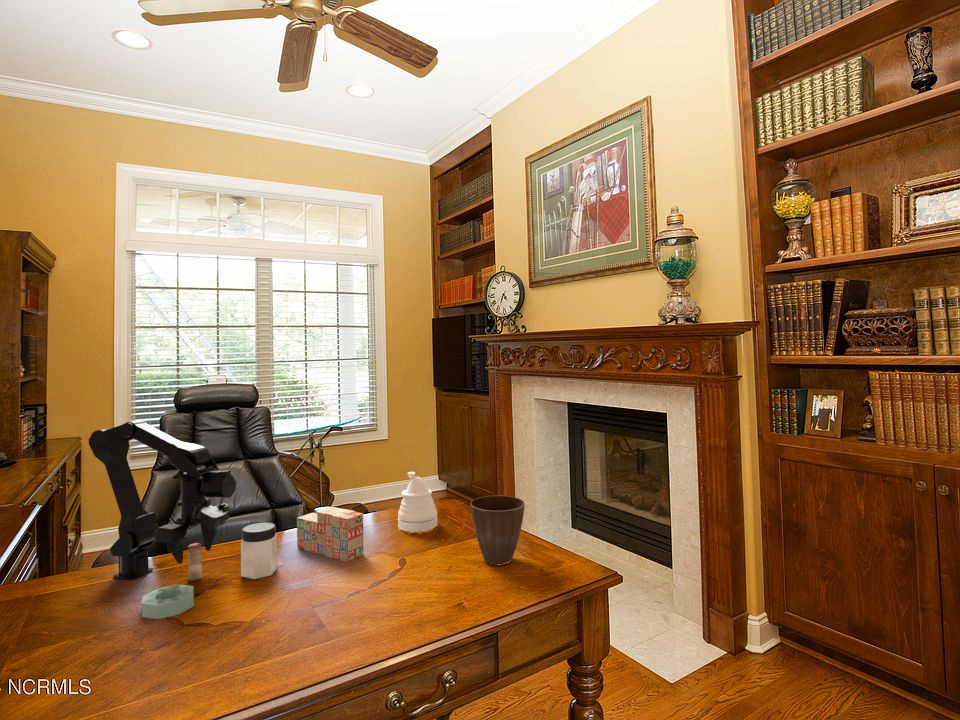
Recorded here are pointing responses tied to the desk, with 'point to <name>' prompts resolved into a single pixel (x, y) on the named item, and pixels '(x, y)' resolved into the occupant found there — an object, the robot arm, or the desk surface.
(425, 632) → the desk surface
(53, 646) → the desk surface
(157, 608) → the bead
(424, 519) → the honey pot
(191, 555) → the beige cylindrical peg
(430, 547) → the desk surface
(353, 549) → the stack of blocks
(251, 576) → the jar
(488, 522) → the plant pot
